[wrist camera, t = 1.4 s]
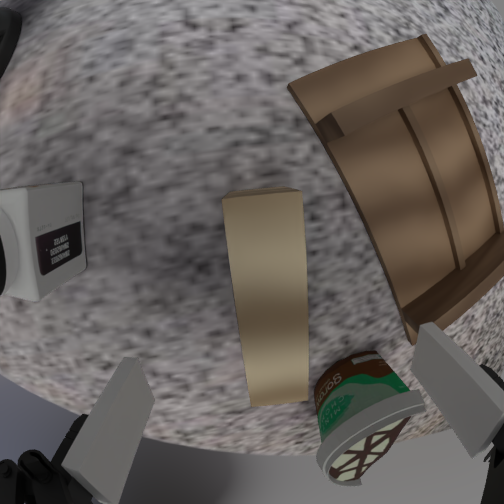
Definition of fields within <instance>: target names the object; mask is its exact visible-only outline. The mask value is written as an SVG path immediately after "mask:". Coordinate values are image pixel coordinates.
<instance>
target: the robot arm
mask: <svg viewBox="0 0 504 504" xmlns="http://www.w3.org/2000/svg"><path fill="white" fill-rule="evenodd" d="M20 29H21V16H20V14H19V13H18V12H16V11H14V10H12V9H10V8H6V7H0V77H1V75H2V73H3V71H4V69H5V67H6V66H7V63H8V61H9V59H10V57H11V55H12V53H13V50H14V48H15V45H16V43H17V40H18V37H19V33H20ZM410 370H411V371H412V373H413V374H414V375H415V377H416V378H417V379H418V381H419V382H420V383H421V385H422V386H423V387H424V389H425V390H426V392H427V393H428V394H429V396H430V397H431V399H432V400H433V401H434V403H435V404H436V406H437V407H438V409H439V410H440V411H441V413H442V414H443V416H444V417H445V419H446V420H447V422H448V423H449V425H450V426H451V427H452V429H453V430H454V432H455V433H456V435H457V436H458V438H459V440H460V441H461V443H462V444H463V446H464V447H465V449H466V450H467V452H468V453H469V455H470V457H471V458H472V459H473V458H474V457H476V456H478V455H479V454H480V453H482V452H484V451H485V450H486V449H487V447H488V446H489V445H490V443H491V442H493V444H494V447H493V448H492V449H491V450H490V452H489V453H488V454H487V456H486V457H485V459H484V462H486V460H487V459H488V458H489V457H490V456H491V457H490V460H489V462H490V464H489V470H488V475H487V479H486V484H485V488H484V492H483V496H482V500H481V504H504V382H503V380H502V379H501V378H500V377H498V375H497V374H496V373H495V372H494V371H493V370H492V369H491V368H489V367H487V366H485V365H483V364H481V365H478V364H477V363H476V362H475V361H474V360H473V359H472V358H471V357H470V356H469V355H468V354H467V353H466V352H464V351H463V350H462V349H461V348H460V347H459V346H458V345H457V344H456V343H455V342H454V341H453V340H452V339H451V338H450V337H448V336H447V335H446V334H445V333H444V332H443V331H442V330H441V329H440V328H439V327H438V326H436V325H435V324H434V323H433V322H429V323H425V324H422V325H420V328H419V333H418V338H417V343H416V348H415V352H414V357H413V361H412V365H411V369H410ZM154 402H155V398H154V396H153V394H152V391H151V389H150V387H149V384H148V382H147V379H146V377H145V374H144V372H143V369H142V366H141V364H140V361H139V358H130V357H124V358H123V360H122V362H121V363H120V365H119V366H118V368H117V369H116V371H115V373H114V374H113V376H112V377H111V379H110V381H109V382H108V384H107V386H106V387H105V389H104V391H103V392H102V394H101V395H100V397H99V399H98V400H97V402H96V404H95V405H94V407H93V409H92V411H91V412H90V414H89V415H86V414H82V415H81V416H80V417H79V418H77V419H76V420H75V421H74V423H73V424H72V426H71V428H70V431H68V433H67V434H66V436H65V437H66V438H64V439H63V441H62V443H61V444H60V446H59V448H58V450H57V451H56V453H55V455H54V457H53V458H52V461H51V462H50V461H49V460H48V459H47V458H46V457H45V456H44V455H43V454H42V453H41V452H40V451H38V450H28V451H26V452H24V453H23V454H22V455H21V456H20V458H19V459H18V466H17V465H16V463H14V462H13V461H12V460H9V459H5V460H2V461H0V504H24V503H25V504H93V503H92V501H91V499H92V497H95V498H96V499H97V500H98V501H99V502H101V503H104V504H118V503H119V500H120V497H121V494H122V491H123V488H124V485H125V482H126V479H127V476H128V473H129V470H130V468H131V465H132V462H133V459H134V456H135V453H136V451H137V448H138V445H139V442H140V439H141V437H142V434H143V431H144V429H145V426H146V423H147V421H148V418H149V415H150V413H151V410H152V407H153V405H154Z"/></svg>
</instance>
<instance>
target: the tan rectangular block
mask: <svg viewBox="0 0 504 504" xmlns="http://www.w3.org/2000/svg"><path fill="white" fill-rule="evenodd" d="M222 207H223V215H224V223H225V224H224V226H225V234H226V242H227V250H228V258H229V265H230V272H231V280H232V287H233V294H234V301H235V308H236V315H237V322H238V329H239V335H240V342H241V348H242V355H243V361H244V368H245V374H246V380H247V384H248V390H249V396H250V402H251V407H256V406H267V405H276V404H285V403H293V402H300V401H306V400H308V376H309V326H308V285H307V261H306V242H305V226H304V211H303V198H302V191H299V190H296V189H292V188H288V187H284V186H282V187H271V188H261V189H251V190H241V191H232V192H229V193H228V194H227V195H226V196H225V197H223V198H222Z"/></svg>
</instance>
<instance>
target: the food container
mask: <svg viewBox="0 0 504 504" xmlns="http://www.w3.org/2000/svg"><path fill="white" fill-rule="evenodd" d="M314 398H315V404H316V410H317V416H318V423H319V429H320V436H321V442H322V444H321V445H320V447H319V449H318V451H317V455H316V459H317V463H318V464H319V467H320V468H321V470H322V472H323V474H324V476H325V477H326V478H328V479H329V481H330V482H331V483H333V484H335V485H339V486H347V487H348V486H360V485H362V484H361V479H360V477H361V476H362V475H363V474H364V472H365V471H366V470H367V469H368V468H369V467H370V466H371V465H372V464H373V463H375V462H376V461H377V460H379V459H380V458H381V457H382V456H383V455H385V454H386V453H387V452H388V450H389V448H390V447H391V446H392V445H393V443H394V441H395V440H396V438H397V436H398V435H399V433H400V432H401V430H402V429H403V427H404V426H405V424H406V423H407V422H408V420H409V419H410V418H411V416H412V415H415V414H418V413H423V412H426V409H425V408H424V406H423V405H424V401H423V398H422V396H421V393H420V391H419V389H418V390H412V391H410V390H409V388H408V387H407V386H406V385H405V384H404V383H403V381H402V380H401V379H400V378H399V377H398V376H397V374H396V373H395V372H394V371H393V370H392V369H391V367H390V366H389V365H388V364H387V363H386V362H385V361H384V359H383V358H382V357H381V356H380V355H379V354H378V353H377V351H364V352H360V353H356V354H352V355H350V356H348V357H346V358H344V359H342V360H340V361H338V362H336V363H335V364H334V365H333V366H331V367H330V368H329V369H328V370H326V371H325V372H324V374H323V375H322V376H321V377H320V379H319V380H318V382H317V384H316V387H315V390H314Z"/></svg>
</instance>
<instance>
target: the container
mask: <svg viewBox="0 0 504 504" xmlns="http://www.w3.org/2000/svg"><path fill="white" fill-rule="evenodd" d="M85 268H86V256H85V244H84V229H83V186H82V183H81V182H78V181H77V182H62V183H49V184H38V185H28V186H21V187H14V188H7V189H1V190H0V296H1V295H3V294H5V295H9V296H13V297H16V298H20V299H24V300H28V301H33V302H38V301H40V300H41V299H43V298H44V297H45V296H47V295H48V294H50V293H51V292H52V291H54V290H55V289H57V288H58V287H60V286H61V285H63V284H64V283H65V282H67V281H68V280H70V279H71V278H73V277H74V276H76V275H77V274H79V273H80V272H82V271H83V270H85Z"/></svg>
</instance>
